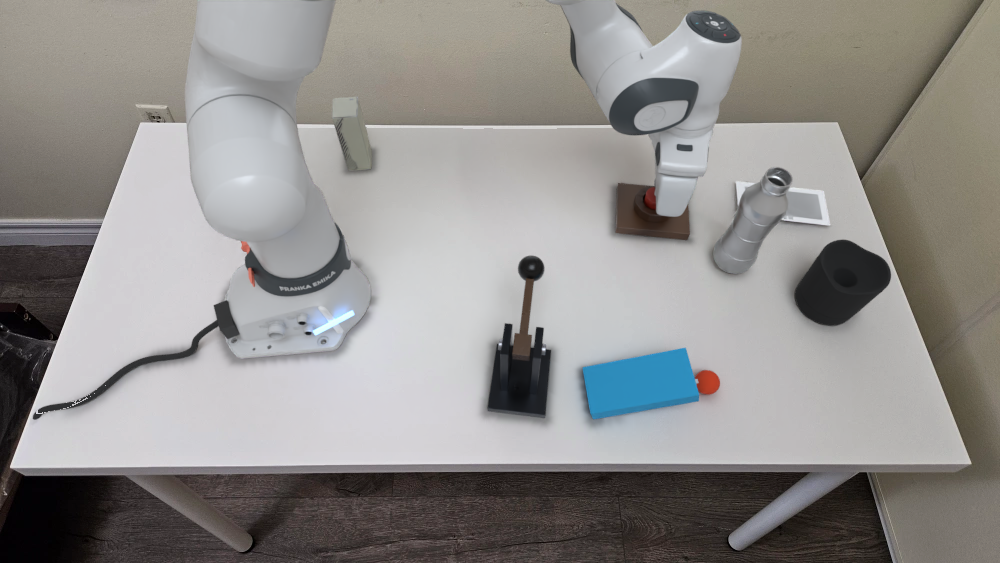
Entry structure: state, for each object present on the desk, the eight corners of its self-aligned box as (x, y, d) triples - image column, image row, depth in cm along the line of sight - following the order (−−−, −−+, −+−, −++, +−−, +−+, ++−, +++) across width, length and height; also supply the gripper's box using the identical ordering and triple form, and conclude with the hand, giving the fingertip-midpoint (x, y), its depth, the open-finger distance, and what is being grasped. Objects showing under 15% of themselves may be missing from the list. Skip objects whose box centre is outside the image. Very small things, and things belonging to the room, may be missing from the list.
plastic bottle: (747, 246, 95) (799, 160, 78) (752, 281, 92) (808, 197, 75) (707, 243, 96) (751, 156, 79) (711, 277, 92) (758, 194, 75)
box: (349, 152, 108) (331, 96, 97) (372, 150, 108) (358, 94, 97) (348, 172, 105) (330, 117, 94) (372, 170, 105) (357, 115, 94)
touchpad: (733, 185, 103) (737, 176, 101) (820, 194, 101) (826, 186, 99) (736, 219, 98) (740, 210, 97) (827, 229, 97) (833, 221, 95)
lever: (519, 261, 80) (519, 249, 77) (545, 263, 80) (546, 252, 76) (507, 359, 74) (506, 352, 71) (534, 363, 74) (535, 355, 71)
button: (644, 209, 96) (646, 202, 94) (643, 192, 98) (646, 185, 96) (665, 211, 95) (668, 204, 94) (665, 194, 97) (667, 187, 96)
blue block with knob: (597, 429, 83) (726, 407, 80) (590, 414, 77) (728, 389, 74) (589, 384, 87) (712, 362, 83) (582, 367, 81) (713, 342, 78)
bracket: (497, 347, 85) (496, 302, 75) (550, 353, 85) (557, 309, 74) (487, 411, 80) (485, 373, 69) (544, 418, 79) (551, 381, 69)
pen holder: (807, 333, 86) (839, 298, 78) (781, 281, 91) (809, 243, 83) (865, 324, 87) (904, 289, 79) (836, 273, 92) (869, 235, 84)
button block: (615, 233, 97) (618, 220, 94) (616, 189, 102) (619, 175, 99) (687, 240, 96) (693, 227, 93) (684, 195, 101) (690, 181, 98)
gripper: (657, 76, 88) (639, 143, 100) (660, 174, 77) (639, 236, 89) (699, 79, 88) (676, 146, 99) (707, 178, 77) (681, 240, 88)
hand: (659, 190), depth 94 cm, fingers closed
